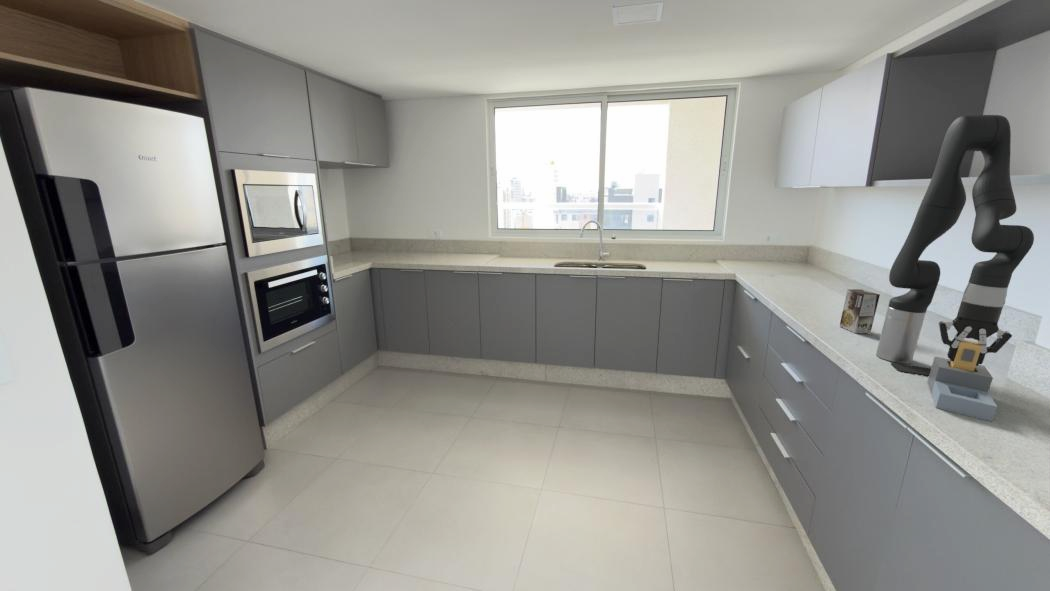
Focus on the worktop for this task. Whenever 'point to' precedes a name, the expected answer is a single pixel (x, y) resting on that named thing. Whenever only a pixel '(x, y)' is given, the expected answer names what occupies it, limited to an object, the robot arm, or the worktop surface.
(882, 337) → the robot arm
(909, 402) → the worktop surface
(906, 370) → the phone
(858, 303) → the coffee box
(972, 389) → the socket block
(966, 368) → the plug
